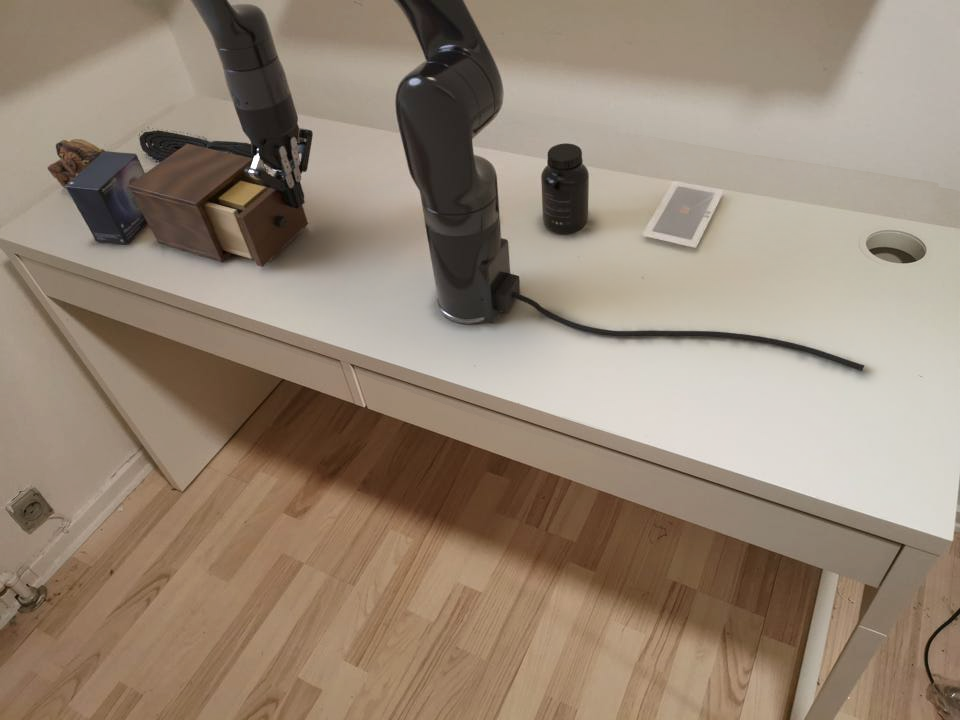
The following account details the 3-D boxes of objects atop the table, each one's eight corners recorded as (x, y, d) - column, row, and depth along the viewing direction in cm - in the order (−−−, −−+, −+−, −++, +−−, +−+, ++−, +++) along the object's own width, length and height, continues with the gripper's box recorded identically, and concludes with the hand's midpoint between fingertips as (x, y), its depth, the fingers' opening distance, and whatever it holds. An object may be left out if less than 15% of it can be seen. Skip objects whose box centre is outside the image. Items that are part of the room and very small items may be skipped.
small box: (129, 246, 111) (98, 189, 104) (94, 242, 113) (61, 186, 105) (164, 207, 118) (137, 151, 111) (131, 205, 120) (102, 149, 112)
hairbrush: (251, 156, 122) (126, 141, 127) (256, 174, 125) (134, 159, 130) (272, 132, 127) (152, 119, 132) (277, 150, 130) (159, 136, 135)
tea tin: (279, 225, 108) (265, 186, 103) (258, 244, 105) (243, 205, 100) (254, 219, 110) (240, 180, 105) (233, 237, 107) (217, 198, 102)
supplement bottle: (552, 206, 109) (551, 135, 101) (594, 214, 107) (597, 142, 98) (535, 231, 105) (533, 160, 96) (578, 240, 103) (580, 168, 94)
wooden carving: (53, 197, 124) (21, 146, 116) (71, 183, 126) (42, 132, 119) (127, 210, 119) (98, 157, 112) (144, 195, 122) (118, 142, 114)
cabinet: (273, 216, 114) (253, 158, 106) (222, 262, 106) (195, 203, 99) (211, 200, 119) (187, 143, 111) (157, 243, 111) (127, 185, 104)
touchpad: (640, 241, 101) (642, 229, 100) (672, 186, 110) (674, 174, 108) (694, 254, 98) (696, 241, 97) (722, 196, 107) (725, 184, 106)
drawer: (314, 225, 109) (299, 176, 103) (269, 269, 103) (249, 219, 96) (247, 208, 114) (229, 160, 108) (199, 248, 108) (177, 200, 101)
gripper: (250, 122, 87) (289, 235, 99) (313, 75, 94) (342, 186, 107) (205, 112, 89) (248, 224, 102) (270, 68, 97) (303, 177, 110)
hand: (296, 204), depth 104 cm, fingers closed
